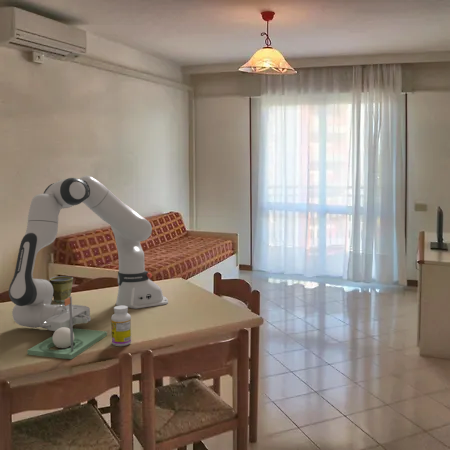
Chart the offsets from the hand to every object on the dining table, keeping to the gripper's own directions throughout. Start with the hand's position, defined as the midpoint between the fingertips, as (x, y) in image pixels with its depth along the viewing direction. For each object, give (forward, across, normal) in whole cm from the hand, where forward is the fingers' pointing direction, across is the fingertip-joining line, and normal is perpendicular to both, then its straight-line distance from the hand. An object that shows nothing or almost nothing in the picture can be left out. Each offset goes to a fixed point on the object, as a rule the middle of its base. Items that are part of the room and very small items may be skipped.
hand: (88, 319), depth 197 cm
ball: (-1, -15, +2) cm, 15 cm away
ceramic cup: (-36, +40, +6) cm, 54 cm away
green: (-1, -12, +5) cm, 13 cm away
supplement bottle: (+16, -6, +6) cm, 18 cm away
